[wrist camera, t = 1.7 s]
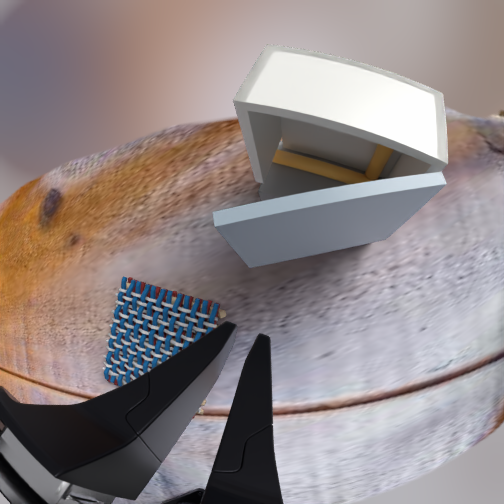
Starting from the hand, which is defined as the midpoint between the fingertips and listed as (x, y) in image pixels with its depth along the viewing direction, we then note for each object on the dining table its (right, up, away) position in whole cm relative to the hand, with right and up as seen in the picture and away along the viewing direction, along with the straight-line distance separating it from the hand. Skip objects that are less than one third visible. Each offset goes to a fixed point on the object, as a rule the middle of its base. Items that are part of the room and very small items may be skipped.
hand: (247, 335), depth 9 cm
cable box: (+7, +8, +14) cm, 17 cm away
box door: (+5, +3, +10) cm, 11 cm away
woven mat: (-8, -6, +14) cm, 17 cm away
